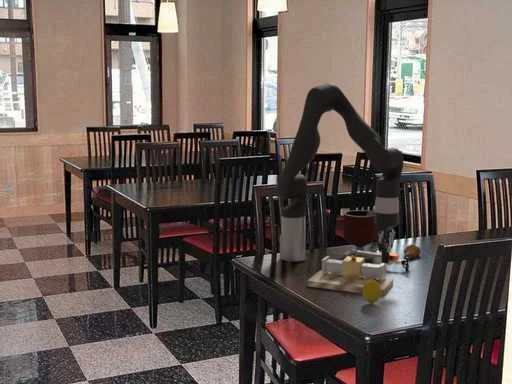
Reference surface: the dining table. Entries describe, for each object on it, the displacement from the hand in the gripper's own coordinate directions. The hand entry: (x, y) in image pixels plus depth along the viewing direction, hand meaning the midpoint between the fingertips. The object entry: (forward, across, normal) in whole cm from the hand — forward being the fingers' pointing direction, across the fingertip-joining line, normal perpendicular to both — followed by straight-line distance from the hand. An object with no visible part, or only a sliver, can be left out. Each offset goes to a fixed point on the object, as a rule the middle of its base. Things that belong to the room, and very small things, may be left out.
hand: (385, 262), depth 204 cm
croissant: (+9, +47, +5) cm, 48 cm away
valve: (+10, +25, +6) cm, 27 cm away
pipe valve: (+8, +4, +13) cm, 15 cm away
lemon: (+10, -14, 0) cm, 17 cm away
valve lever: (0, +4, +5) cm, 7 cm away
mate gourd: (+9, +38, +23) cm, 46 cm away
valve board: (+10, +1, +12) cm, 16 cm away
